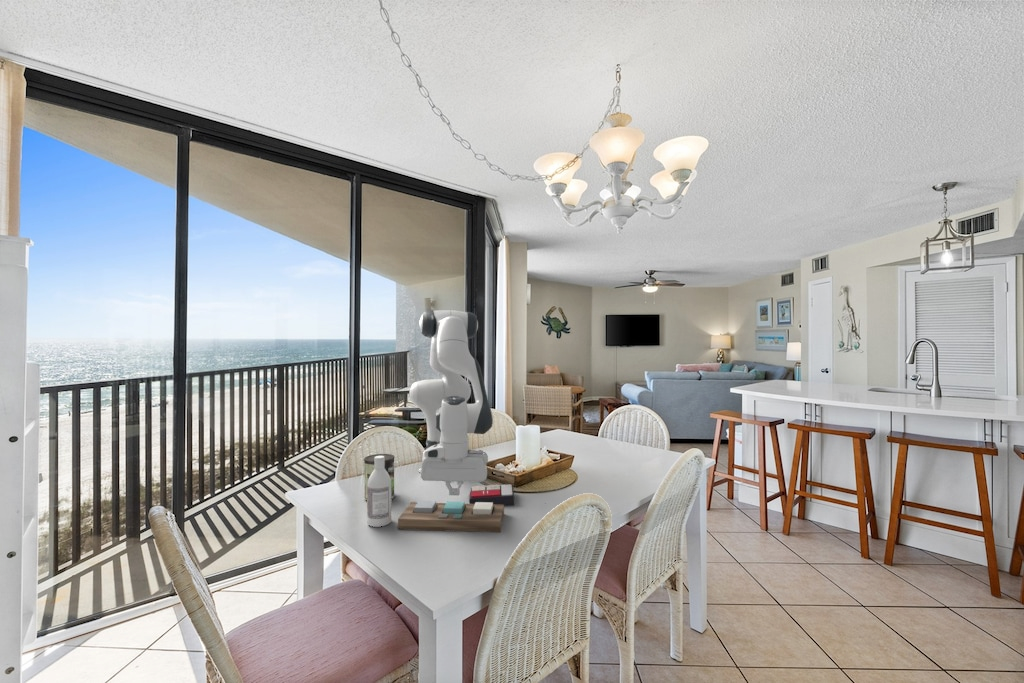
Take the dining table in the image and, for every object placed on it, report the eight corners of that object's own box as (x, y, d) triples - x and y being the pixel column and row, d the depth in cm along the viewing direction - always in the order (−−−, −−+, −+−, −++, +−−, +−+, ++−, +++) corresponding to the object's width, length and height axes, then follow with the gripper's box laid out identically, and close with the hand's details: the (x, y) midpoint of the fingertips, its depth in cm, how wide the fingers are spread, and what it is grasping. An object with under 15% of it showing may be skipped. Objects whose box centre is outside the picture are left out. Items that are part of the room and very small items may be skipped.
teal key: (447, 507, 136) (447, 501, 136) (464, 508, 136) (464, 501, 136) (443, 514, 131) (443, 508, 131) (461, 515, 130) (461, 508, 130)
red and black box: (470, 485, 155) (512, 482, 155) (471, 497, 155) (513, 494, 156) (468, 496, 144) (513, 493, 144) (469, 509, 144) (514, 506, 145)
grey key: (419, 507, 137) (419, 500, 137) (436, 507, 137) (436, 501, 137) (414, 514, 131) (414, 507, 131) (431, 514, 131) (431, 507, 131)
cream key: (475, 508, 136) (475, 502, 136) (493, 508, 135) (493, 502, 135) (472, 515, 130) (472, 508, 130) (491, 516, 130) (491, 509, 130)
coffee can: (396, 491, 158) (396, 453, 158) (391, 502, 148) (391, 460, 148) (368, 492, 157) (368, 453, 157) (360, 503, 147) (360, 461, 147)
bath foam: (374, 517, 135) (374, 453, 135) (395, 518, 134) (395, 454, 134) (363, 527, 128) (363, 459, 128) (385, 528, 127) (385, 460, 127)
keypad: (411, 511, 139) (411, 501, 139) (503, 513, 137) (503, 503, 137) (397, 529, 126) (397, 517, 126) (500, 531, 124) (500, 520, 124)
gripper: (489, 447, 136) (489, 492, 136) (424, 447, 137) (424, 490, 137) (486, 453, 130) (486, 499, 129) (419, 452, 131) (419, 497, 131)
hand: (454, 494), depth 133 cm, fingers closed
